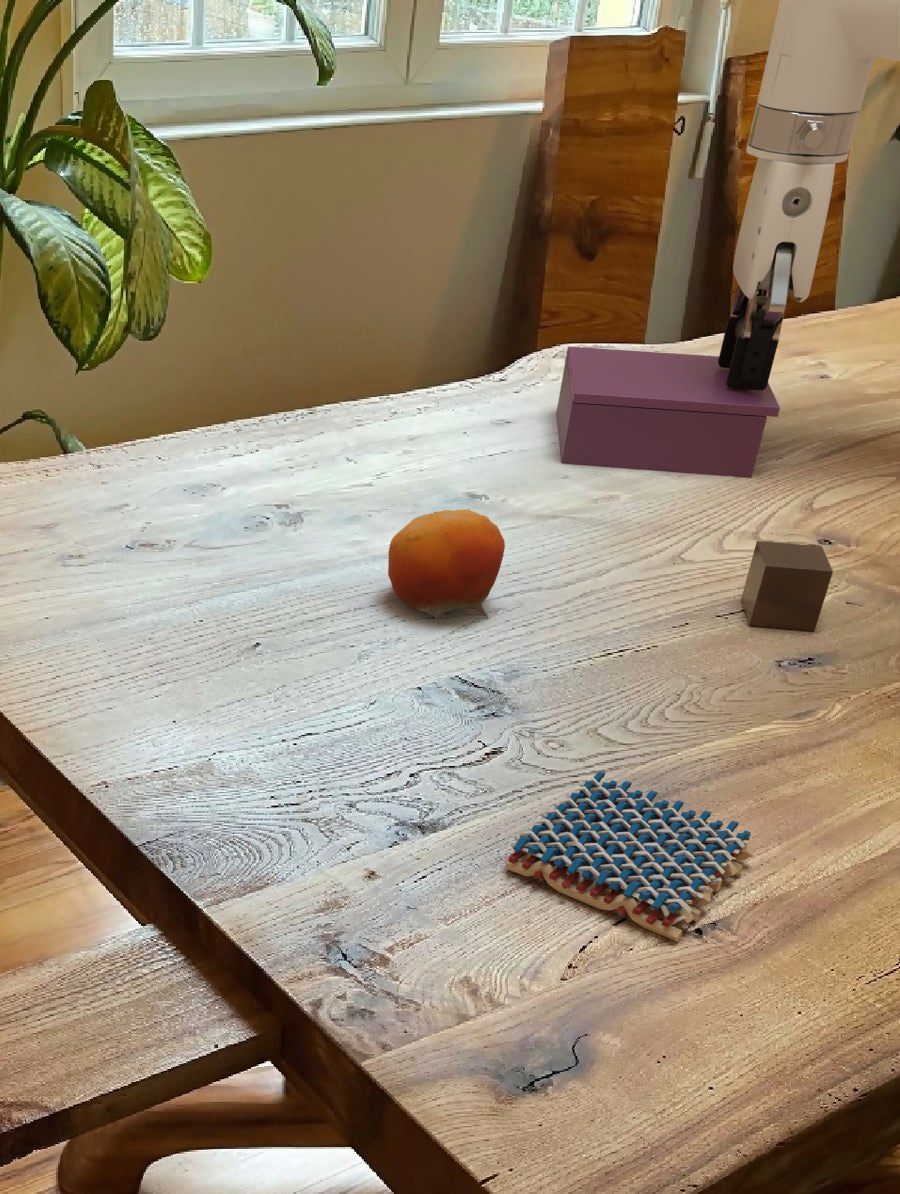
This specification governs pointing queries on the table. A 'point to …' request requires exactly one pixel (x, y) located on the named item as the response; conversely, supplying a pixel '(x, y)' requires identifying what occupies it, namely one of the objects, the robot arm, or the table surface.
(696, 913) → the woven mat
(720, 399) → the lid
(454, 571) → the fruit
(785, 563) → the block
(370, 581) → the table surface
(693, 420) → the box
